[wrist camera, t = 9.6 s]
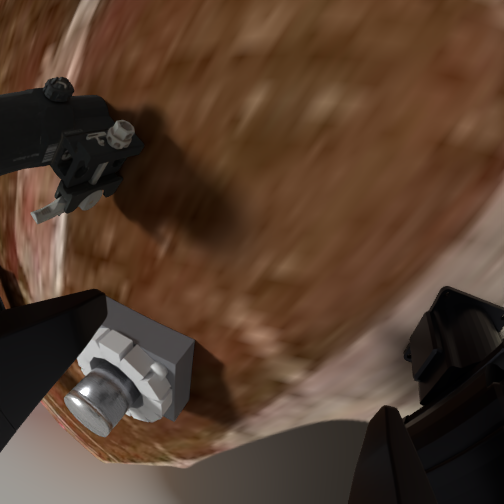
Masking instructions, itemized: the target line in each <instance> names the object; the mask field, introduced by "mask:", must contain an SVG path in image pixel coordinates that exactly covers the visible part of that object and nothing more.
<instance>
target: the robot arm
mask: <svg viewBox="0 0 504 504" xmlns="http://www.w3.org/2000/svg"><path fill="white" fill-rule="evenodd" d="M447 292H448V293H449V294H448V295H447V296H444V294H445V293H447ZM107 315H108V309H107V300H106V295H105V293H103V292H101V291H100V290H98V289H90V290H86V291H82V292H78V293H74V294H69V295H65V296H61V297H57V298H52V299H48V300H44V301H40V302H35V303H31V304H27V305H23V306H19V307H14V308H10V309H6V310H2V311H0V452H1V451H2V450H3V448H4V447H5V446H6V444H7V443H8V442H9V440H10V439H11V437H12V436H13V435H14V434H15V433H16V431H17V430H18V428H19V427H20V426H21V425H22V423H23V422H24V421H25V420H26V418H27V417H28V416H29V415H30V413H31V412H32V411H33V410H34V408H35V407H36V406H37V405H38V403H39V402H40V401H41V400H42V399H43V397H44V396H45V395H46V394H47V393H48V391H49V390H50V389H51V388H52V387H53V385H54V384H55V383H56V382H57V381H58V379H59V378H60V377H61V376H62V375H63V374H64V372H65V371H66V370H67V369H68V368H69V367H70V365H71V364H72V363H73V362H74V361H75V360H76V359H77V357H78V356H79V355H80V354H81V353H82V351H83V350H84V349H85V347H86V346H87V345H88V343H89V342H90V340H91V339H92V338H93V336H94V335H95V333H96V332H97V331H98V329H99V328H100V327H101V325H102V324H103V322H104V321H105V320H106V318H107ZM502 315H504V308H503V307H500V306H498V305H495V304H493V303H490V302H488V301H485V300H483V299H480V298H478V297H475V296H473V295H470V294H467V293H465V292H462V291H460V290H457V289H455V288H452V287H449V286H445V287H443V288H441V290H440V291H439V293H438V295H437V297H436V299H435V301H434V302H433V304H432V306H431V308H430V310H429V311H427V312H426V313H425V314H424V315H423V317H422V319H421V320H420V322H419V324H418V326H417V327H416V329H415V331H414V332H413V334H412V335H411V337H410V339H409V341H410V343H409V344H408V346H407V348H406V349H405V351H404V359H405V360H407V361H409V362H412V371H413V378H414V381H418V383H419V396H420V404H421V405H423V407H422V408H420V409H419V410H417V411H416V412H414V413H413V414H411V415H410V416H409V415H407V416H405V417H404V418H401V416H400V413H399V411H398V410H397V408H395V407H391V406H387V405H384V406H382V407H381V409H380V410H379V411H378V412H377V413H376V414H375V416H374V417H373V418H372V419H371V420H370V422H369V424H368V427H367V431H366V434H365V438H364V441H363V445H362V448H361V452H360V455H359V458H358V462H357V465H356V468H355V472H354V477H353V481H352V486H351V491H350V496H349V500H348V504H504V338H503V339H502V338H501V336H500V333H499V332H500V331H501V329H502V327H503V326H504V316H503V317H501V316H502ZM408 354H411V355H408Z"/></svg>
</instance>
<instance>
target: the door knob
mask: <svg viewBox="0 0 504 504" xmlns="http://www.w3.org/2000/svg"><path fill="white" fill-rule="evenodd" d="M140 395H141V393H140V391H139V390H138V388H137V387H136V385H135V384H134V382H133V381H132V380H131V379H130V378H129V377H128V376H127V375H126V374H125V373H124V372H123V371H122V370H121V369H120V368H118V367H117V366H115V365H113V364H112V363H110V362H109V361H107V360H105V359H103V360H102V361H101V362H100V363H99V364H97V365H96V366H95V367H94V368H93V369H92V370H91V371H90V372H89V373H88V374H87V375H86V376H85V377H84V378H83V379H82V380H81V381H80V382H79V383H78V384H77V385H76V386H75V387H74V388H73V389H72V390H71V391H70V392H69V393H68V394H67V395H66V396H65V397H64V401H65V404H66V405H67V407H68V409H69V410H70V411H71V413H72V414H73V415H74V416H75V417H76V418H77V419H78V420H79V421H80V422H81V423H82V424H83V425H84V426H86V427H87V428H88V429H89V430H91V431H92V432H94V433H95V434H97V435H99V436H102V437H106V436H107V435H108V434H109V433H110V432H111V430H112V429H113V428H114V427H115V425H116V424H117V423H118V422H119V421H120V419H121V418H122V417H123V416H124V415H125V413H126V412H127V411H128V410H129V408H130V407H131V406H132V405H133V404H134V402H135V401H136V400H137V399H138V397H139V396H140Z"/></svg>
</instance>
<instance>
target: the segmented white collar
mask: <svg viewBox="0 0 504 504" xmlns="http://www.w3.org/2000/svg"><path fill="white" fill-rule="evenodd" d="M106 300H107V309H108V315H107V318H106V320H105V321H104V322H103V324H102V325H101V327H100V328H99V329H98V331H97V332H96V333H95V335H94V336H93V338H92V339H91V340H90V342H89V343H88V345H87V346H86V347H85V349H84V350H83V351H82V353H81V354H80V355H79V356H78V357H77V360H78V363H79V366H80V367H82V368H81V370H82V371H83V373H84V375H85V376H86V375H87V374H88V373H89V372H90V371H91V370H92V369H93V368H94V367H95V366H96V365H97V364H99V363H100V362H101V361H102V360H103V359H105V360H107V361H109V362H110V363H112V364H113V365H115V366H117V367H118V368H120V369H121V370H122V371H123V372H124V373H125V374H126V375H127V376H128V377H129V378H130V379H131V380H132V381H133V382H134V384H135V385H136V387H137V388H138V390H139V391H140V393H141V395H140V396H139V397H138V399H137V400H136V401H135V402H134V404H133V405H132V406H131V407H130V408H129V410H128V411H127V412H126V413H125V414H127V415H129V416H131V415H132V416H133V418H135V419H139V420H143V421H146V422H149V421H151V422H154V421H156V420H158V419H161V418H162V416H164V417H166V418H168V419H170V420H172V421H175V420H176V418H177V417H178V415H179V414H180V412H181V411H182V409H183V408H184V406H185V405H186V403H187V402H188V401H189V394H190V383H191V372H192V362H193V353H194V343H195V340H194V339H192V338H189V337H187V336H185V335H183V334H181V333H178V332H176V331H174V330H172V329H170V328H168V327H166V326H164V325H161V324H159V323H157V322H155V321H153V320H151V319H149V318H147V317H145V316H143V315H141V314H139V313H137V312H135V311H133V310H131V309H129V308H128V307H126V306H124V305H122V304H120V303H118V302H116V301H114V300H112V299H111V298H109V297H107V296H106Z"/></svg>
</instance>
